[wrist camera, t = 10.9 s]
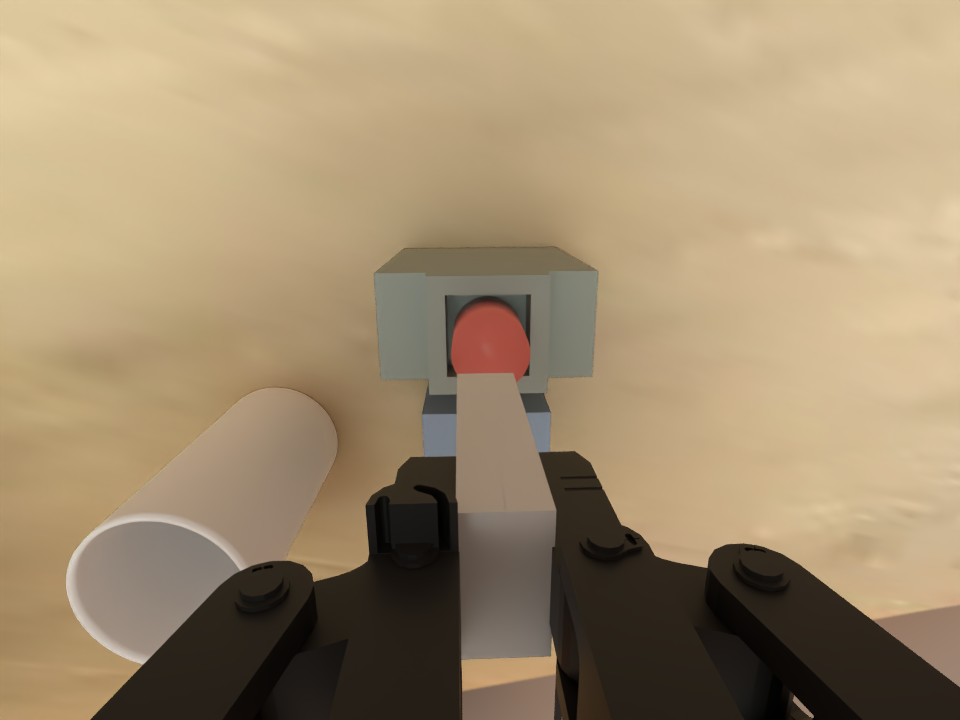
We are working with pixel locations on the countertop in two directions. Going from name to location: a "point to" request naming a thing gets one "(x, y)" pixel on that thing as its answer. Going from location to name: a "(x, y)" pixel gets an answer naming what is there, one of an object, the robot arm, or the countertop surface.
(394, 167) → the countertop surface
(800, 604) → the robot arm
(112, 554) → the cup
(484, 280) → the grey upright block
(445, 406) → the block
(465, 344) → the plunger
